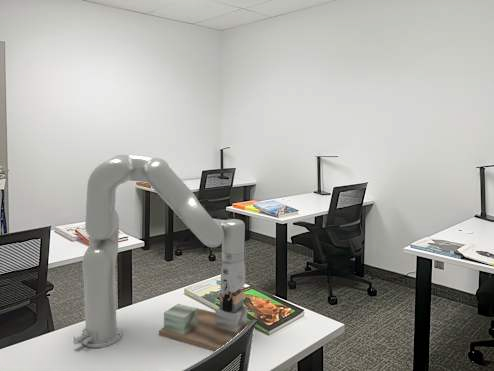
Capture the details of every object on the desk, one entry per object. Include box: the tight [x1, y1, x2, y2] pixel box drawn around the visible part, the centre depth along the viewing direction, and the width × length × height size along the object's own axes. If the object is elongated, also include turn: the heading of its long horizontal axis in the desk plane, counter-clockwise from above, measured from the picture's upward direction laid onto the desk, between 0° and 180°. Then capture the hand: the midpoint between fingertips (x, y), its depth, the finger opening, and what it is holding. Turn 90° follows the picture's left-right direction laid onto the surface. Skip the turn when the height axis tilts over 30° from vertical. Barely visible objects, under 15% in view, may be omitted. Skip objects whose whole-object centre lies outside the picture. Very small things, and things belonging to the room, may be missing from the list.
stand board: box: [158, 303, 252, 352], centre depth 145 cm, size 21×24×8 cm
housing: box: [219, 288, 245, 313], centre depth 145 cm, size 6×6×7 cm
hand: (231, 306), depth 145 cm, fingers closed on housing, 6 cm apart
